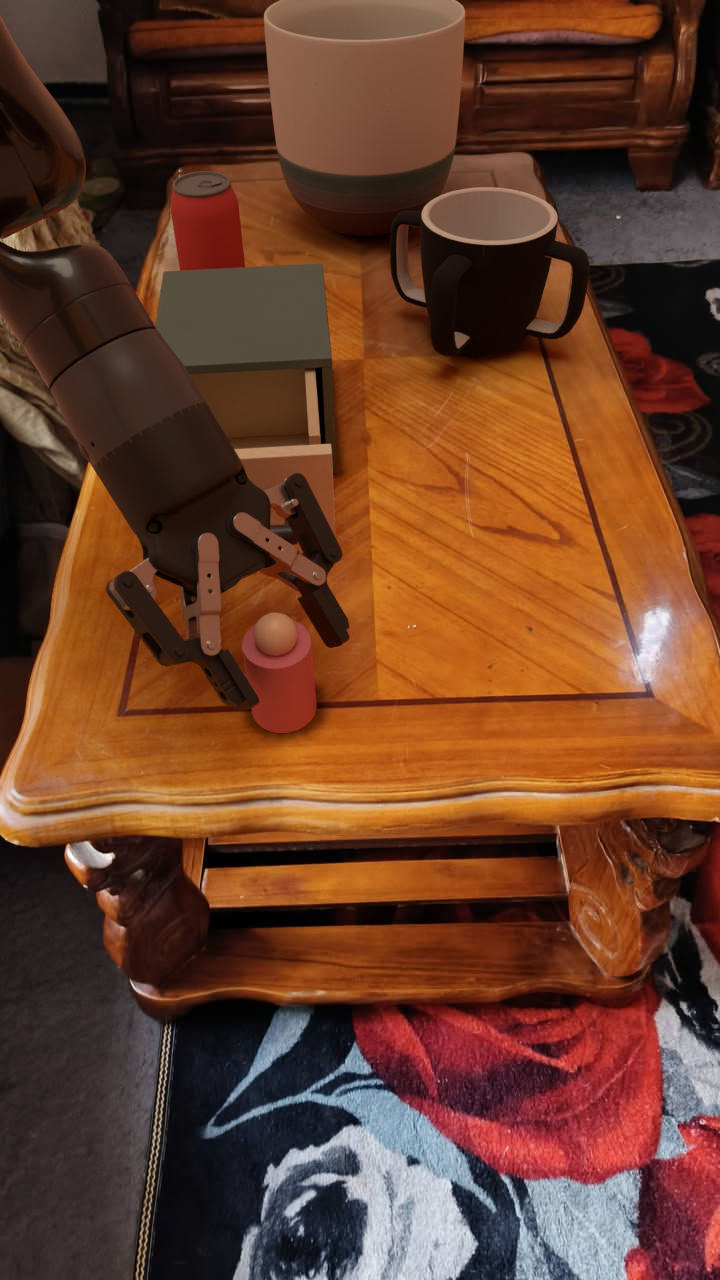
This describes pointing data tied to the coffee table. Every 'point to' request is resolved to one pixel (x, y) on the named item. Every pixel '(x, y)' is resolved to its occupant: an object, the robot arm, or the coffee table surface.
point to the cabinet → (252, 325)
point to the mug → (486, 269)
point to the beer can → (206, 222)
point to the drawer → (274, 431)
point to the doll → (280, 673)
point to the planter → (364, 105)
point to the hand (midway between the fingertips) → (295, 673)
